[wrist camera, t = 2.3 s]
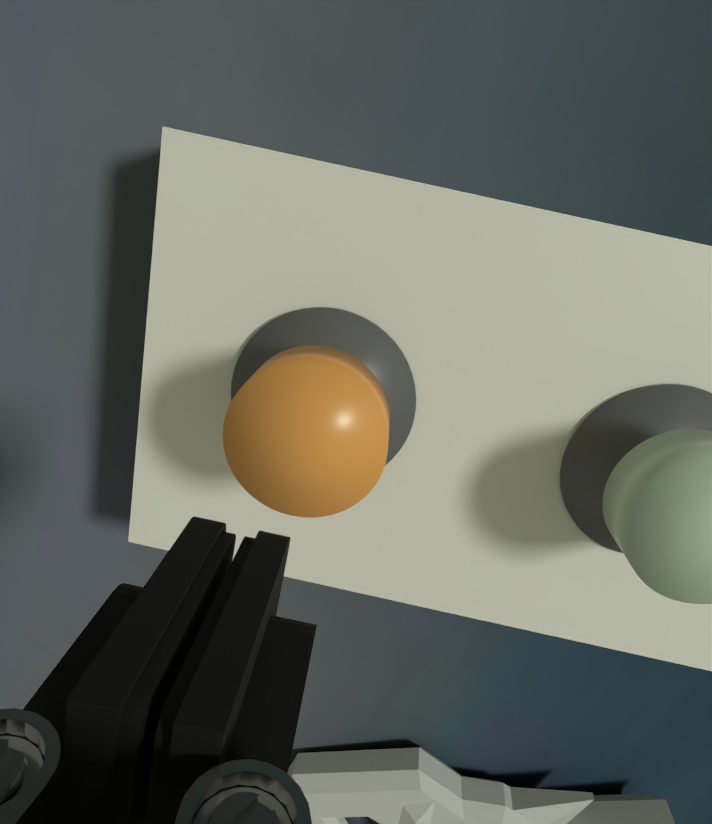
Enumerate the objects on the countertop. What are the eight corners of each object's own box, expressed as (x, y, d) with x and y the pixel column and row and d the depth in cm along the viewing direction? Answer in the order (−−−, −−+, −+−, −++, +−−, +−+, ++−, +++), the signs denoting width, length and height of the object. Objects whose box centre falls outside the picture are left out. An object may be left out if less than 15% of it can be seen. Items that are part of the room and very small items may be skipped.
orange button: (253, 330, 17) (233, 345, 15) (405, 363, 17) (405, 383, 15) (233, 468, 18) (213, 498, 16) (372, 498, 18) (368, 532, 16)
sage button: (633, 413, 16) (662, 440, 15) (786, 447, 16) (835, 478, 15) (581, 545, 18) (602, 584, 16) (721, 575, 18) (759, 619, 16)
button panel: (197, 138, 19) (159, 125, 16) (1201, 357, 19) (1348, 384, 16) (160, 502, 24) (125, 544, 21) (966, 681, 24) (1047, 749, 21)
